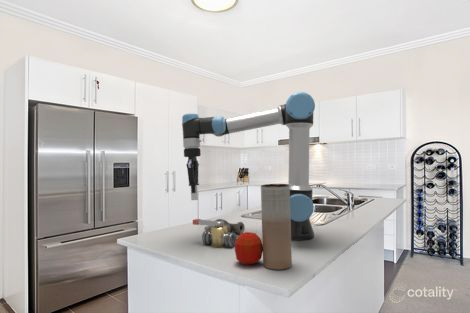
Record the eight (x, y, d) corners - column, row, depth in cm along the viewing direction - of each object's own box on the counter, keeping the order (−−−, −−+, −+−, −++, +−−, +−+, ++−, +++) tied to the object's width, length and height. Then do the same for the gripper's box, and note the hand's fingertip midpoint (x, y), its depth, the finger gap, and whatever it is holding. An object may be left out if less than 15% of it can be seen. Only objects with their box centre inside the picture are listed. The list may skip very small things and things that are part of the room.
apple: (241, 270, 98) (240, 235, 98) (230, 261, 107) (229, 229, 107) (268, 265, 102) (267, 231, 102) (255, 256, 111) (254, 226, 112)
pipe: (221, 248, 150) (204, 239, 140) (218, 233, 156) (201, 223, 146) (248, 233, 147) (232, 222, 136) (243, 218, 153) (228, 207, 143)
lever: (225, 225, 129) (225, 221, 129) (220, 227, 125) (220, 223, 125) (197, 222, 136) (197, 218, 136) (191, 224, 133) (191, 220, 133)
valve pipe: (237, 245, 128) (236, 226, 128) (229, 249, 121) (229, 230, 121) (210, 241, 134) (209, 224, 134) (201, 245, 128) (201, 227, 128)
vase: (259, 268, 99) (257, 186, 99) (267, 259, 108) (264, 183, 109) (289, 271, 95) (286, 186, 96) (294, 261, 105) (291, 183, 105)
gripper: (196, 146, 127) (199, 201, 126) (203, 148, 140) (205, 197, 139) (179, 148, 127) (182, 202, 127) (187, 149, 140) (190, 198, 140)
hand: (194, 199), depth 133 cm, fingers closed
